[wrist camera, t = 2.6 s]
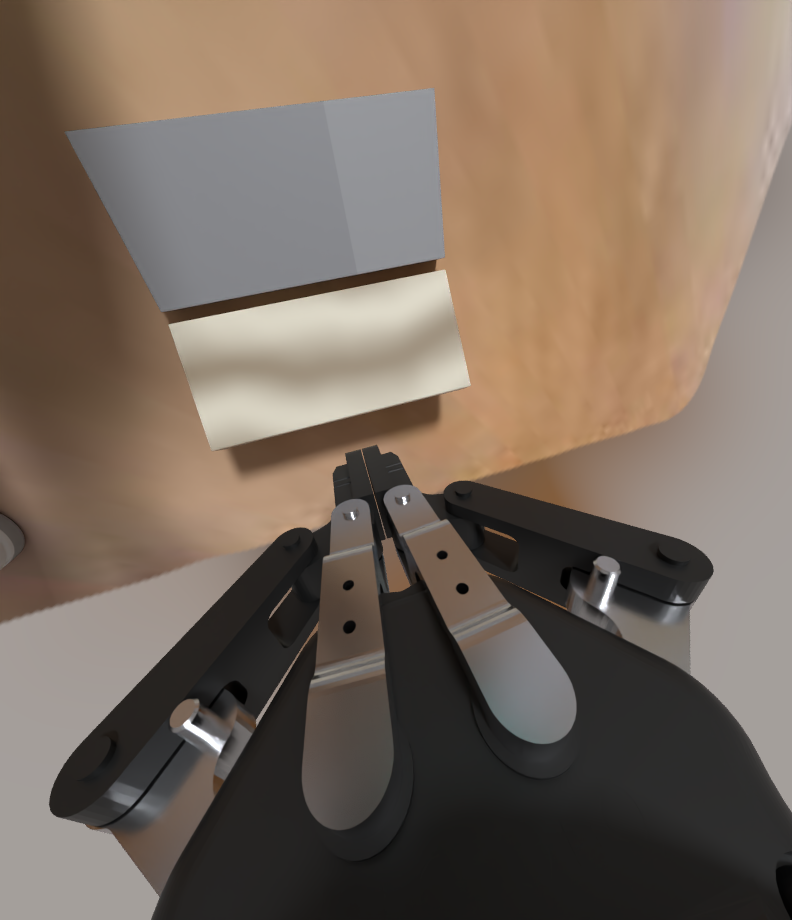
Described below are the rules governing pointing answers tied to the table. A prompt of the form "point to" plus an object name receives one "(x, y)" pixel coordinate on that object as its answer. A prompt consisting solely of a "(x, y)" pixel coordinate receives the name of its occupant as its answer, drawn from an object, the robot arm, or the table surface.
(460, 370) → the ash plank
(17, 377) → the table surface
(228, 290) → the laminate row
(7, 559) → the travel mug
